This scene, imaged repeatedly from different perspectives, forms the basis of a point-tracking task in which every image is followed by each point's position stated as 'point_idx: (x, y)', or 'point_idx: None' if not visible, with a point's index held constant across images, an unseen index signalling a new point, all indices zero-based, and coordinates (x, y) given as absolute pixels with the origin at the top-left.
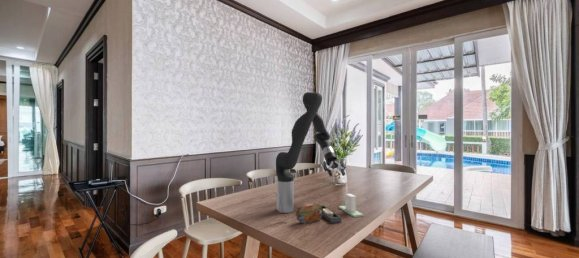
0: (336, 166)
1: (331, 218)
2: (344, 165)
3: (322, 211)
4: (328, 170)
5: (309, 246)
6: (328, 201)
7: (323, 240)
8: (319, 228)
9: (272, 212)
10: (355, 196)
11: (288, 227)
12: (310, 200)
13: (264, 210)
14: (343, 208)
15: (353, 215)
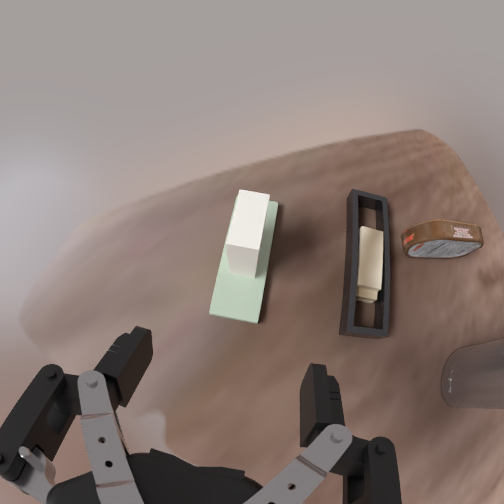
0: (167, 453)
1: (385, 198)
2: (29, 394)
3: (406, 233)
4: (344, 426)
5: (448, 156)
6: (235, 435)
7: (424, 155)
8: (419, 198)
9: None
10: (242, 190)
11: None
12: None
13: None
14: (260, 285)
15: (277, 207)
